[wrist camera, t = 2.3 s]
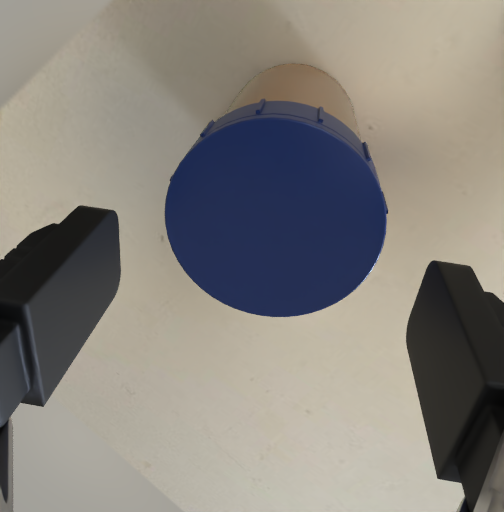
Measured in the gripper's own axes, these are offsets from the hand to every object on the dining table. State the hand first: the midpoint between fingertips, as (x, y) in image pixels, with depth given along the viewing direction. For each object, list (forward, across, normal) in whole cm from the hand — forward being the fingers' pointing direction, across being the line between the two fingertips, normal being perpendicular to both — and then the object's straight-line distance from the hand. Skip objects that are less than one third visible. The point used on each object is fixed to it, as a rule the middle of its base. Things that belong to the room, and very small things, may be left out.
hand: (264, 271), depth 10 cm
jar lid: (+2, 0, 0) cm, 2 cm away
